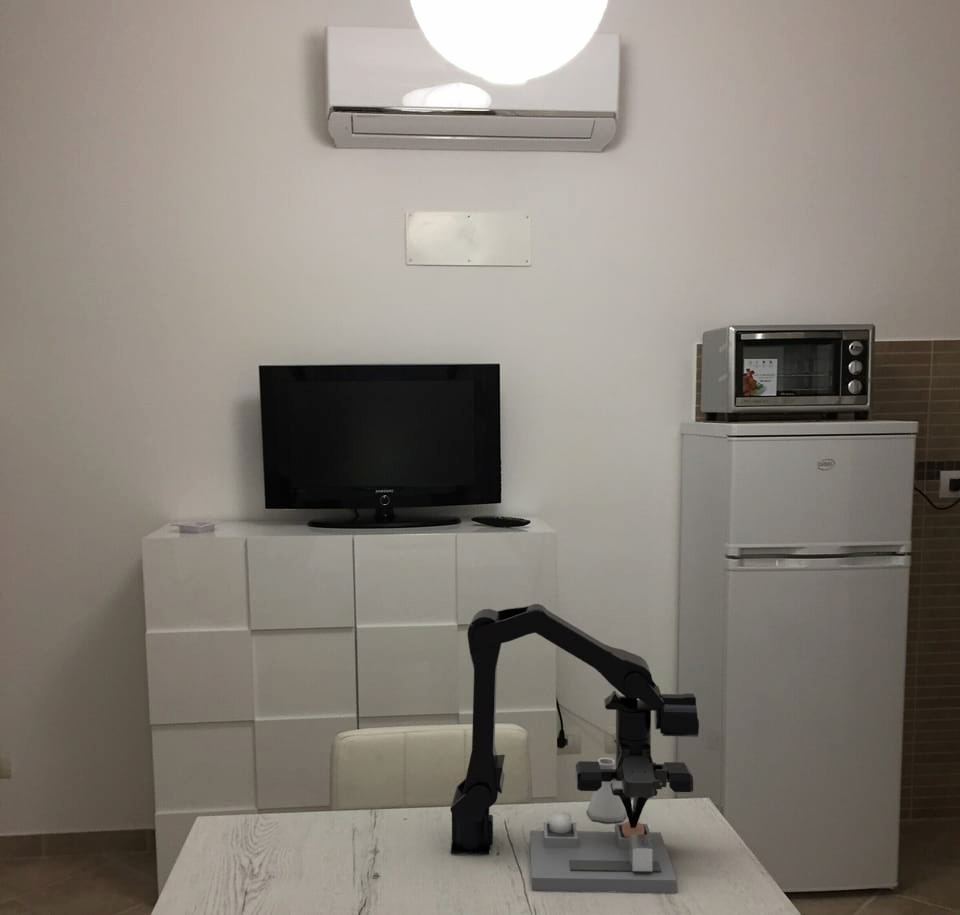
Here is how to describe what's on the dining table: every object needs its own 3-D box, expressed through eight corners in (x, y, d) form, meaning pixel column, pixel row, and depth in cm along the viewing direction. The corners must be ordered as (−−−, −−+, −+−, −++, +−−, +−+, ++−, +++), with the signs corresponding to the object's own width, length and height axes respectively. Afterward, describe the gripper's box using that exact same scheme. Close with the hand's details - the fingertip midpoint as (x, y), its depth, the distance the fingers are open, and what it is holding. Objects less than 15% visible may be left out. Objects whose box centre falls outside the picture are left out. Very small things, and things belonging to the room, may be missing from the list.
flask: (625, 806, 161) (625, 753, 161) (628, 825, 154) (628, 769, 154) (585, 804, 162) (585, 752, 162) (586, 823, 155) (586, 768, 154)
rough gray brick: (632, 871, 134) (632, 848, 134) (628, 856, 138) (629, 834, 138) (652, 871, 134) (652, 848, 133) (648, 856, 138) (648, 834, 138)
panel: (531, 890, 133) (531, 867, 133) (530, 841, 148) (530, 821, 148) (676, 893, 132) (676, 869, 132) (660, 843, 147) (660, 823, 147)
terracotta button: (623, 843, 143) (623, 831, 143) (620, 832, 146) (620, 821, 146) (645, 843, 143) (645, 832, 142) (642, 833, 146) (642, 821, 146)
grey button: (550, 832, 143) (550, 821, 143) (549, 822, 147) (549, 810, 147) (572, 833, 143) (572, 821, 143) (570, 822, 147) (570, 811, 146)
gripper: (580, 753, 136) (579, 850, 137) (700, 754, 135) (700, 852, 136) (575, 727, 147) (575, 817, 148) (686, 728, 146) (686, 818, 147)
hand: (632, 826), depth 144 cm, fingers closed, pressing on terracotta button
